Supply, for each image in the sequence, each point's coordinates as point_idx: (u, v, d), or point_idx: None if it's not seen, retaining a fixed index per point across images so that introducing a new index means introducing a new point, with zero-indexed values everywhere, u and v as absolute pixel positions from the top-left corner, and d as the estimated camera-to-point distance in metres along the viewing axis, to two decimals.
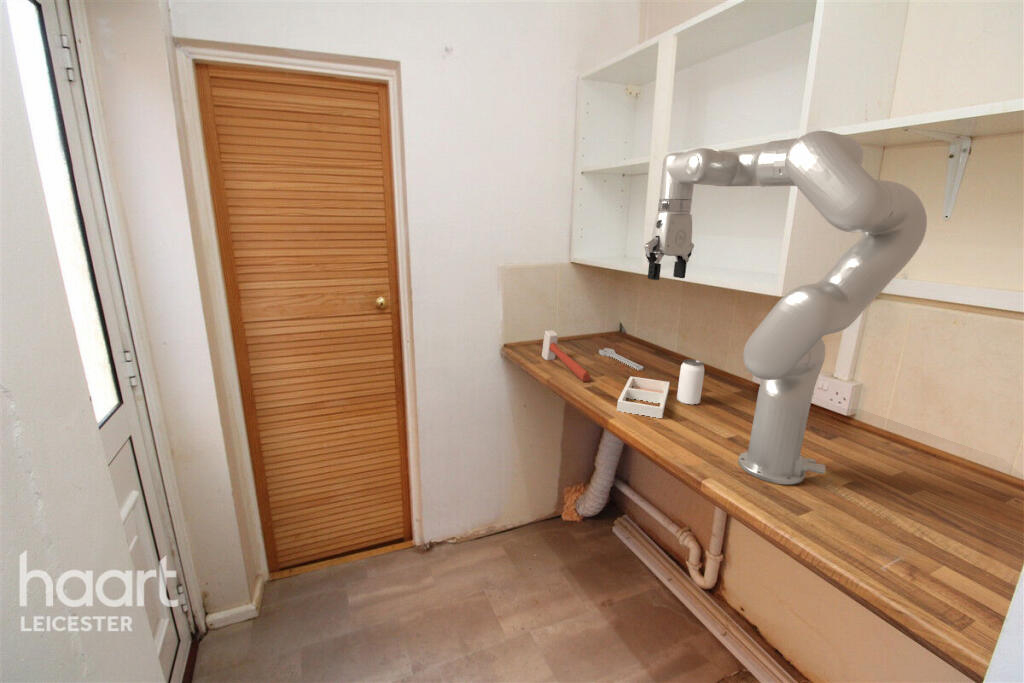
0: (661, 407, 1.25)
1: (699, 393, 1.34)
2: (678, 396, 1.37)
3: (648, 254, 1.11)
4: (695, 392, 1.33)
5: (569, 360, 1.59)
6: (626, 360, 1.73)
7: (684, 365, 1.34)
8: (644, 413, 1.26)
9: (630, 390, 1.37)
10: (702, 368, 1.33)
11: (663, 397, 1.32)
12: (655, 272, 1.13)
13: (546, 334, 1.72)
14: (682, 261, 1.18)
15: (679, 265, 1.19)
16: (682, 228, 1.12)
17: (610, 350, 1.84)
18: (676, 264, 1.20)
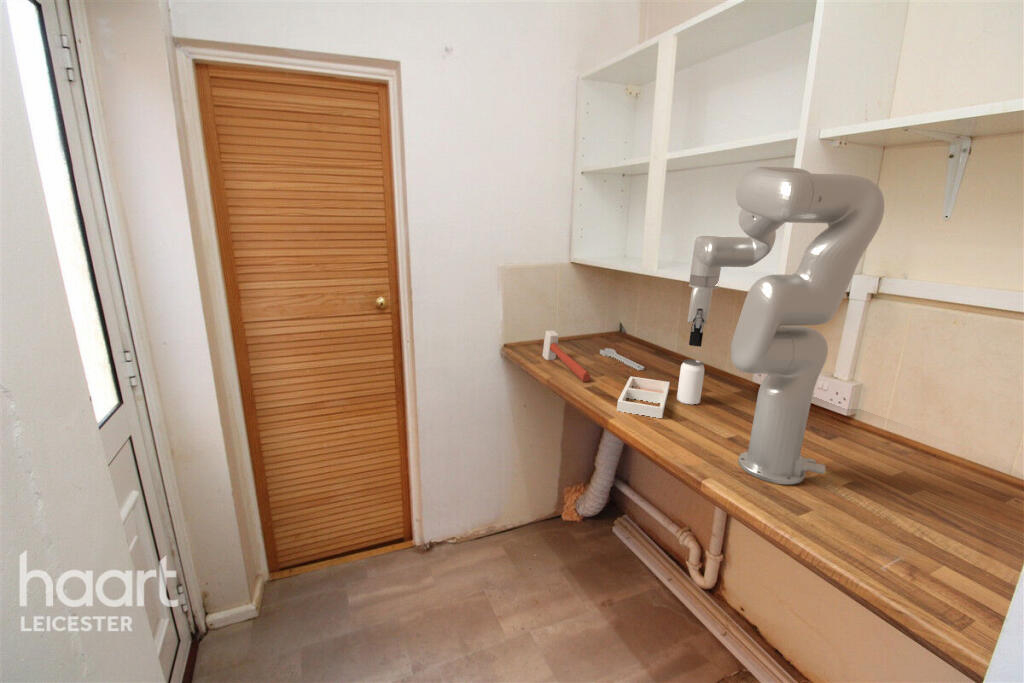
0: (661, 407, 1.25)
1: (699, 393, 1.34)
2: (678, 396, 1.37)
3: None
4: (695, 392, 1.33)
5: (569, 360, 1.59)
6: (627, 360, 1.72)
7: (684, 365, 1.34)
8: (644, 413, 1.26)
9: (630, 390, 1.37)
10: (702, 368, 1.33)
11: (663, 397, 1.32)
12: None
13: (547, 334, 1.72)
14: None
15: None
16: None
17: (611, 350, 1.84)
18: None
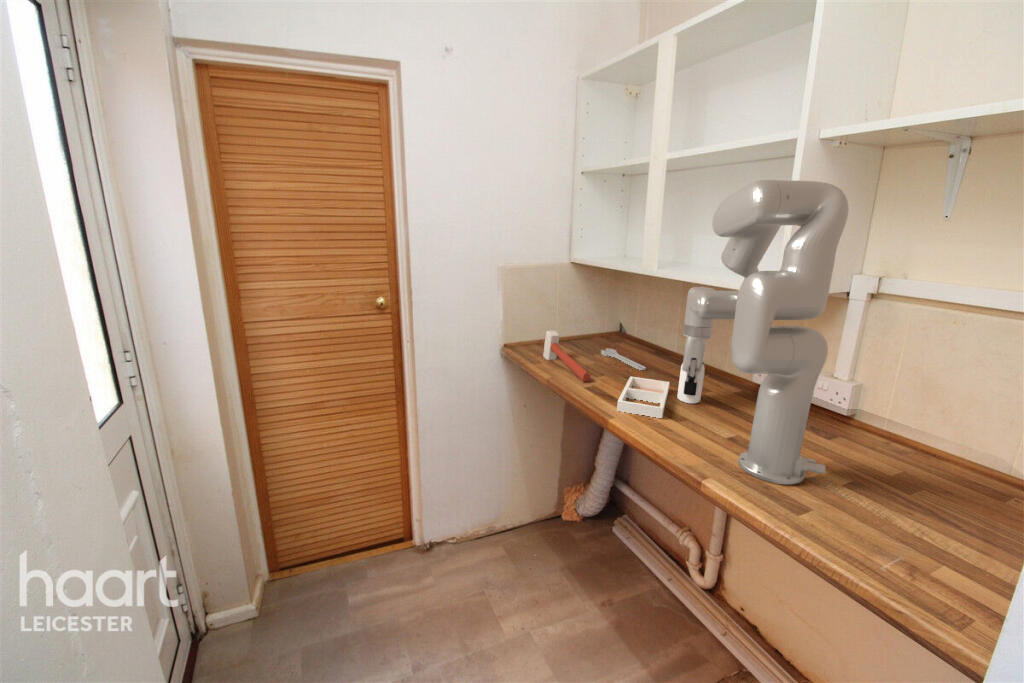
0: (661, 407, 1.25)
1: (699, 392, 1.35)
2: (678, 395, 1.37)
3: None
4: (696, 391, 1.34)
5: (570, 360, 1.59)
6: (628, 360, 1.72)
7: None
8: (644, 413, 1.26)
9: (630, 390, 1.37)
10: (702, 367, 1.33)
11: (663, 397, 1.32)
12: None
13: (547, 334, 1.72)
14: None
15: None
16: None
17: (612, 350, 1.84)
18: None
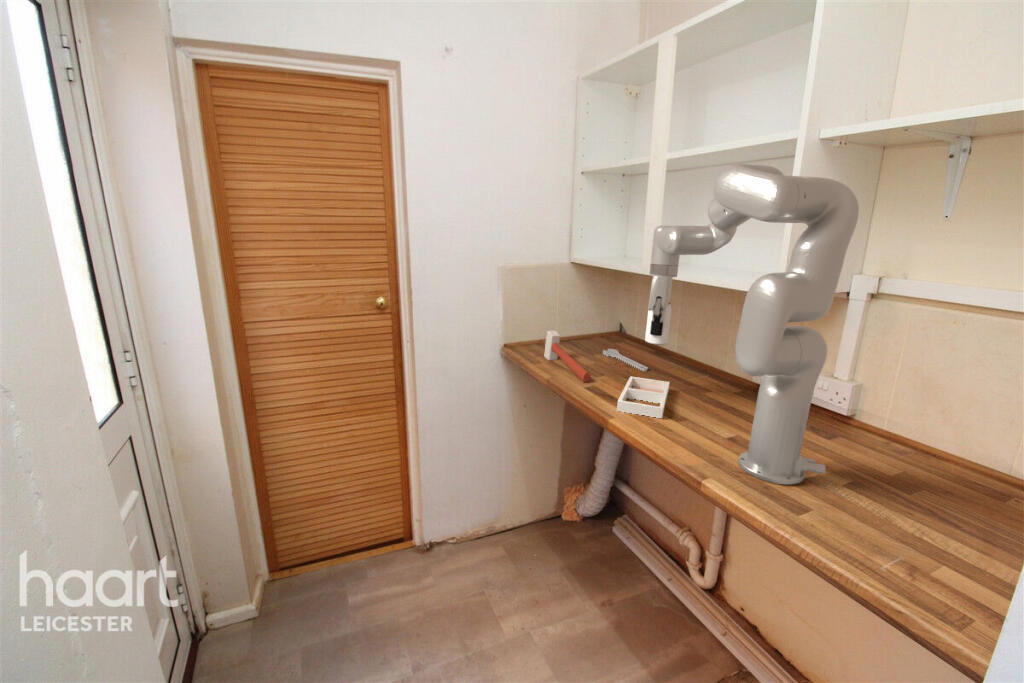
0: (661, 407, 1.25)
1: (666, 333, 1.35)
2: (646, 337, 1.38)
3: None
4: (662, 331, 1.35)
5: (570, 360, 1.59)
6: (630, 361, 1.72)
7: None
8: (644, 413, 1.26)
9: (630, 390, 1.37)
10: (669, 307, 1.34)
11: (663, 397, 1.32)
12: None
13: (548, 334, 1.72)
14: None
15: None
16: None
17: (614, 351, 1.83)
18: None
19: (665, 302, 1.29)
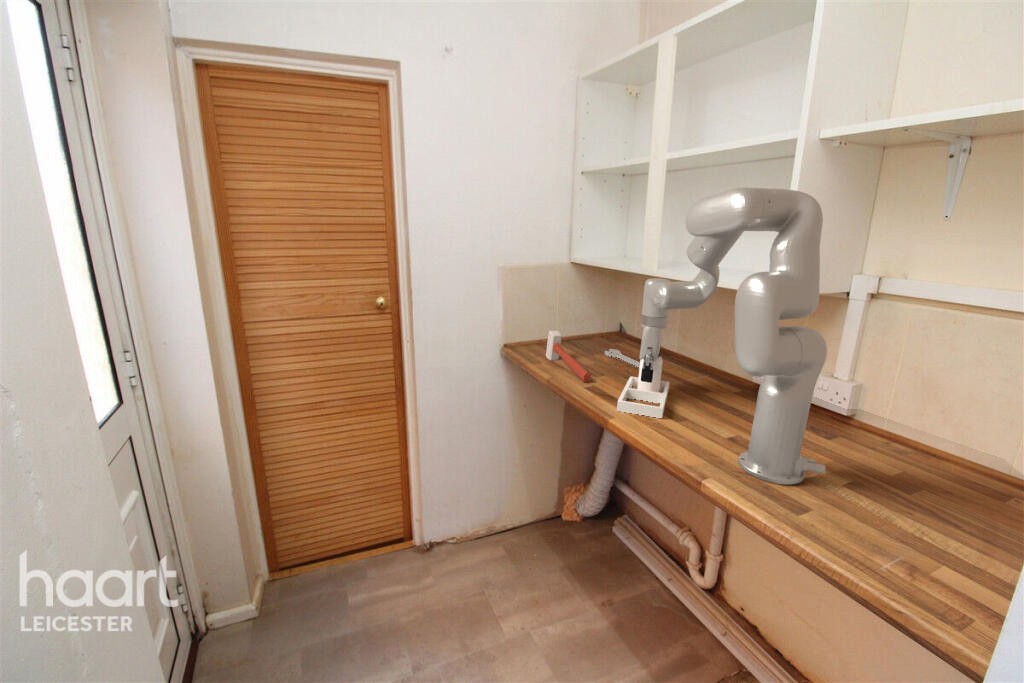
0: (661, 407, 1.25)
1: (658, 384, 1.40)
2: (638, 387, 1.43)
3: None
4: (654, 383, 1.39)
5: (571, 360, 1.58)
6: (633, 361, 1.72)
7: None
8: (644, 413, 1.26)
9: (630, 390, 1.37)
10: (660, 360, 1.38)
11: (663, 397, 1.32)
12: None
13: (550, 334, 1.72)
14: None
15: None
16: None
17: (616, 351, 1.83)
18: None
19: (656, 353, 1.33)
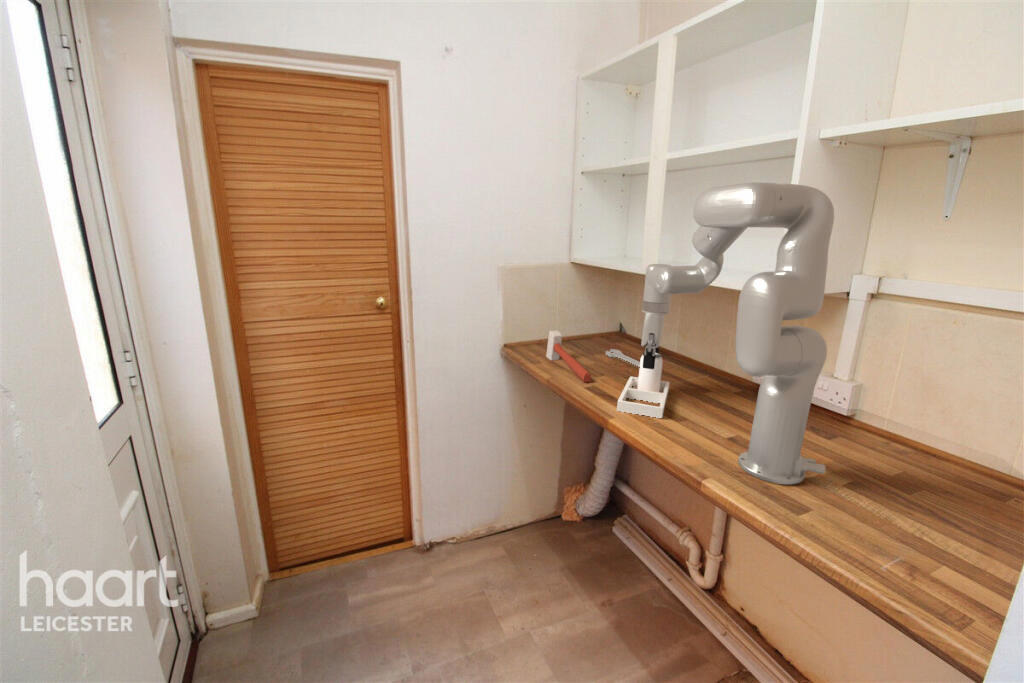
0: (661, 407, 1.25)
1: (658, 384, 1.40)
2: (638, 387, 1.43)
3: None
4: (654, 383, 1.39)
5: (571, 360, 1.58)
6: (635, 361, 1.72)
7: (643, 357, 1.39)
8: (644, 413, 1.26)
9: (630, 390, 1.37)
10: (660, 360, 1.38)
11: (663, 397, 1.32)
12: None
13: (550, 334, 1.72)
14: None
15: None
16: None
17: (617, 351, 1.83)
18: None
19: (658, 339, 1.32)
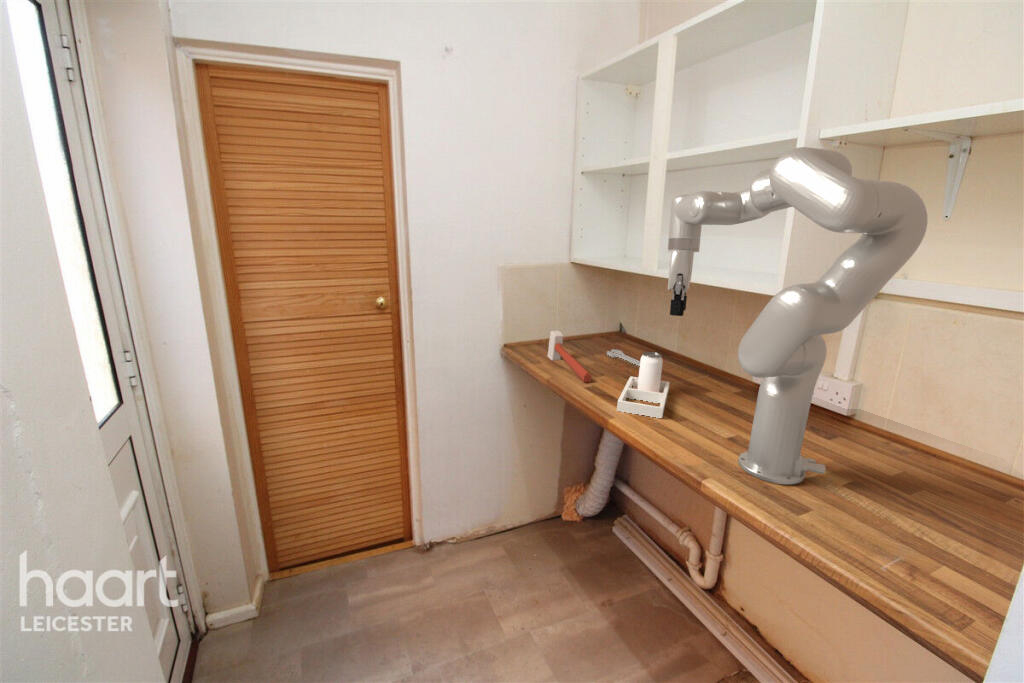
0: (661, 407, 1.25)
1: (658, 384, 1.40)
2: (638, 387, 1.43)
3: None
4: (654, 383, 1.39)
5: (572, 360, 1.58)
6: (637, 361, 1.71)
7: (643, 357, 1.40)
8: (644, 413, 1.26)
9: (630, 390, 1.37)
10: (660, 360, 1.38)
11: (663, 397, 1.32)
12: None
13: (551, 334, 1.72)
14: None
15: None
16: None
17: (618, 351, 1.82)
18: None
19: (687, 280, 1.15)
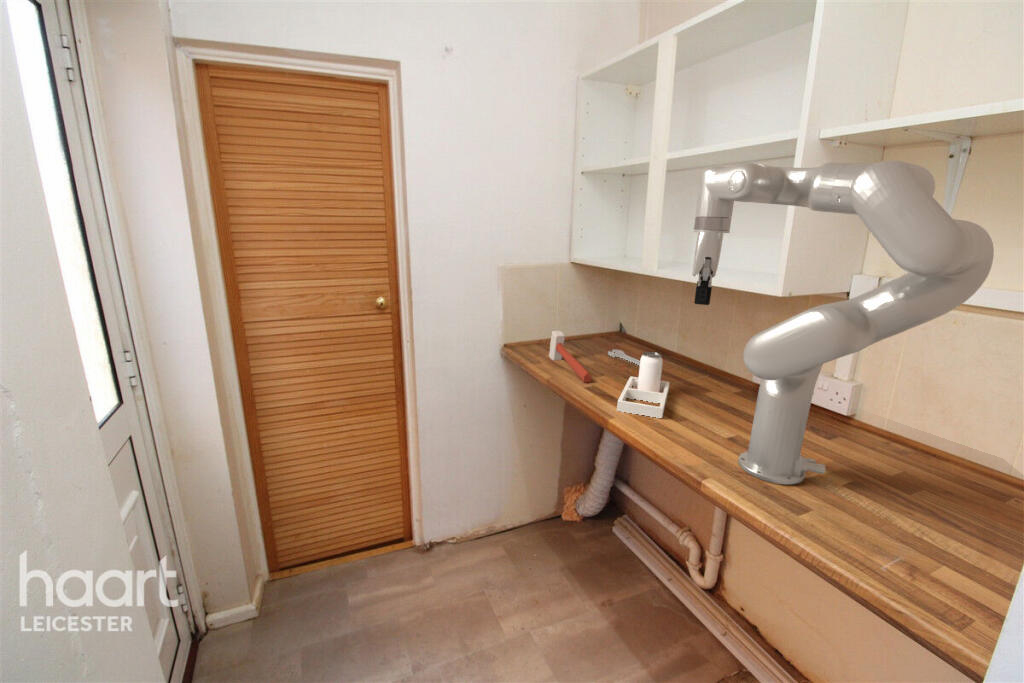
0: (661, 407, 1.25)
1: (658, 384, 1.40)
2: (638, 387, 1.43)
3: None
4: (654, 383, 1.39)
5: (572, 361, 1.58)
6: (638, 361, 1.71)
7: (643, 357, 1.40)
8: (644, 413, 1.26)
9: (630, 390, 1.37)
10: (660, 360, 1.38)
11: (663, 397, 1.32)
12: None
13: (553, 334, 1.72)
14: None
15: None
16: None
17: (619, 351, 1.82)
18: None
19: (716, 264, 1.02)
